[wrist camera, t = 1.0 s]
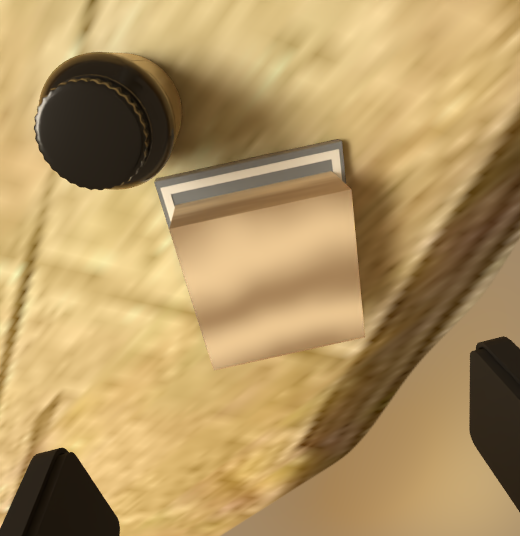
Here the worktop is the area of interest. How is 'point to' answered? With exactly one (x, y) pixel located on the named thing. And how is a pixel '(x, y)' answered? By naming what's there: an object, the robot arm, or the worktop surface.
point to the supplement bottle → (108, 120)
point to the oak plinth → (272, 268)
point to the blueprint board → (249, 174)
